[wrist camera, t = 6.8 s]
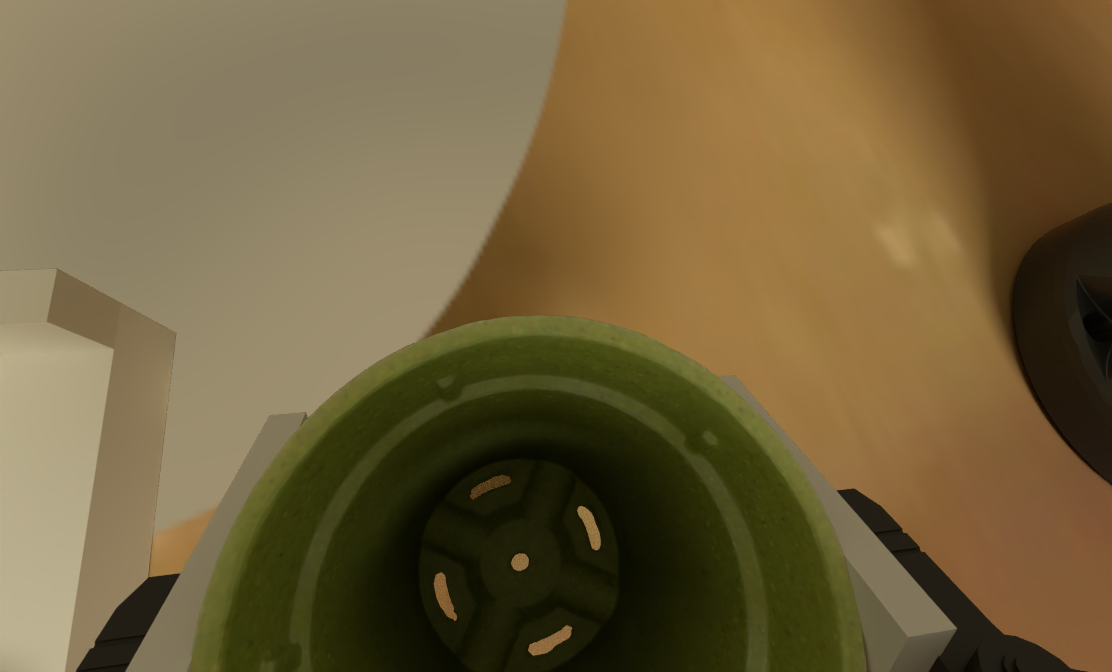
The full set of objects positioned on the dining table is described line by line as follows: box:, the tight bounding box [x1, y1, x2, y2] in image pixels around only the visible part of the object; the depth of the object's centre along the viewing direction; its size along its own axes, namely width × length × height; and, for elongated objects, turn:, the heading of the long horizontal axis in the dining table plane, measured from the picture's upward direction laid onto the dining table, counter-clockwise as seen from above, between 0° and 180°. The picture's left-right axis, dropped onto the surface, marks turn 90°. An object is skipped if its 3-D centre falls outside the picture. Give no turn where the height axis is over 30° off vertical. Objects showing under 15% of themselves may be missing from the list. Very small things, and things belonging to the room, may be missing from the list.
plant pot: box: [191, 315, 867, 672], centre depth 11 cm, size 9×9×9 cm
